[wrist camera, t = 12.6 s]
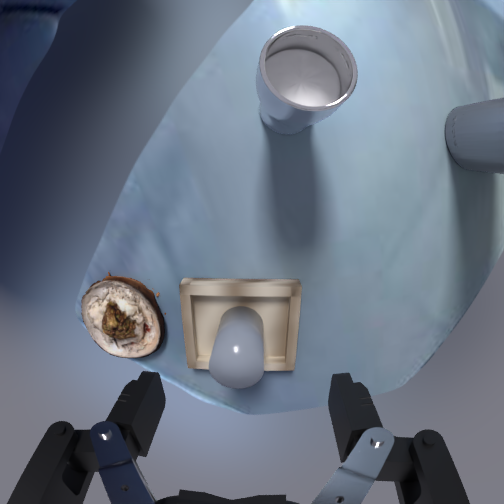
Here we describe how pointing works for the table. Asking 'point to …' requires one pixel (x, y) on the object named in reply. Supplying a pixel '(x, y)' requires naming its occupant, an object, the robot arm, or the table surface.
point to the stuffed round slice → (123, 317)
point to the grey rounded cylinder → (238, 349)
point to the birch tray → (249, 295)
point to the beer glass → (303, 78)
